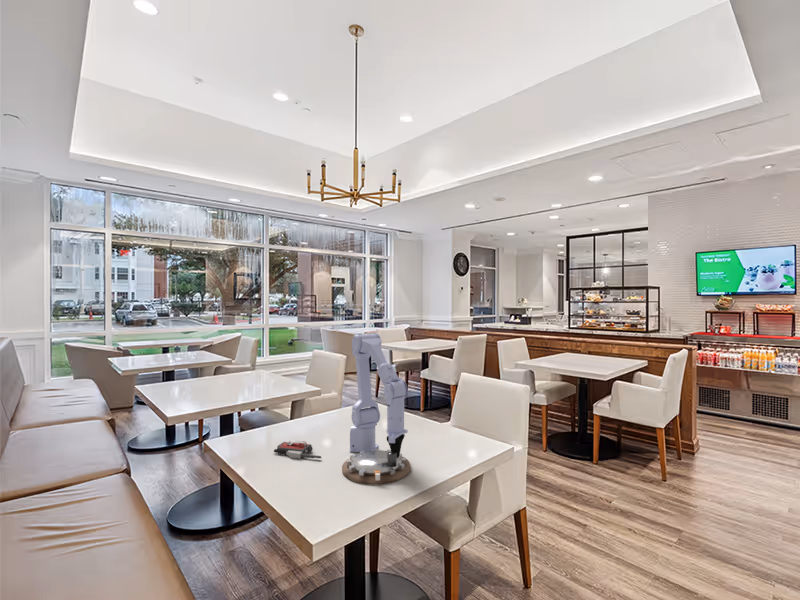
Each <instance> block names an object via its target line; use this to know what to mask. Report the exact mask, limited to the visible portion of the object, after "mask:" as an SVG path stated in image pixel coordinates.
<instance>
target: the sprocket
mask: <svg viewBox="0 0 800 600" xmlns="http://www.w3.org/2000/svg"><path fill="white" fill-rule="evenodd" d="M402 457H403V454H402V453H401V452H400V455H399V458H397V453H396V452H393V451H391V449H386V450H379V448H376V449H374V451H367V452H366V451H364V450H363V451H360V452H359V453H357V454H351V455H349V458H350V460H348V459H346V460H347V466H349V471H350V472H351V473H352V472H355V471H356V472H358V473H359V476H362V477H364V476H365V475H375V473H380V475H385V474H389V475H395V471H397V470H404V464H406V459H407V458H406V457H404V458H402Z"/></svg>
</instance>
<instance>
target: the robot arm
mask: <svg viewBox="0 0 800 600" xmlns="http://www.w3.org/2000/svg"><path fill="white" fill-rule="evenodd" d="M351 349H352V350H351V352H352V357H355V367H356V368H355V369H356V382H357V394H358V395H357V397H358V400H357V401H356V402H355V403H354V404H353V405H352V409H351V422H352V425H351V427H350V431H349V452H351V453H352V452H353V453H360V451H363V450H364V451H366V452H367V451H374V449H378V447H379V444H378V443H376V426H378V423H379V422H380V421H381V420H380V419H381V412H380V409H379V403H378V402H377V401H375V400H374V399H372V398H373V397H372V396H373V395H372V384H371V371H370V358H372V360H373V361H374V362H375V365H376V366H377V375H378V377H379V378H380V380H381V383H382V385H383V394H384V395H383V396H384V398H385V403H386V407H387V408H386V409H387V410H386V411H387V413H386V419H387V421H386V423H387V424H386V428H387V429H386V434H387V436H386V441H387V443H388V445H389V448H390V449H389V450H391V451H393V452H396V453H397V458H399V455H400V453H401V448H402V444H403V440H404V439H405V436H406V435H405V434H408V431H409V430H408V429H406V428H405V397H407V394H408V392H409V391H408V389H409V388H408V384H407V383H406V381H405V380H404V379H402V378H401V377H399V376H398V374H397V372H396V370H395V369H394V367H393V364H391V363H388V361H387V360H386V356H385V355H384V352H383V350H382V339H381V336H380V335H379V333H377V332H375V333H366V334H365V333H362V334H354V335H353V337H352V339H351Z"/></svg>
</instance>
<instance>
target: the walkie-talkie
mask: <svg viewBox="0 0 800 600" xmlns="http://www.w3.org/2000/svg"><path fill="white" fill-rule="evenodd" d="M273 452H274V453H276V454H277V453H278V454H277V455H282V454H286V455H285V456H287V457H288V458H290V459H297V458H298V460H300V459H303V458H307V459H322V456H321V455H316V454H315V455H314V454H309V453H312V452H313V445H312V444H310V443H307V442H306V441H305V440H304V441H302V440H295V441H294V442H292V441H291V440H289V441H283V442H281V443H279V444H278V446H277V448H274V449H273ZM307 453H308V454H307ZM301 457H302V458H301Z"/></svg>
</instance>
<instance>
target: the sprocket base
mask: <svg viewBox="0 0 800 600" xmlns="http://www.w3.org/2000/svg"><path fill="white" fill-rule="evenodd" d="M402 458H405V457H404V456H402ZM347 460H350V457H349V458H348V459H346V460H345V461H344V462H343V463H342V465H341V472H342V475H343V476H344V477H345V478H346V479H347V480H349V481H351V482H353V483H356V484H363V485H371V484H372V486H375V485H374V484H378V485H385V484H386V485H387V484H391V483H395V481H396V482H398V481H400V480H402V479H405V478H406V477H407V476H409V474H410V473H411V471H412V470H411V469H412V468H411V462H410V461H409V459H407V458H406V464H404V470H397V471H395V475H389V474H385V475H380V473H375V475H365V476H364V477H362V476H359V473H358V472H356V471H355V472H352V473H351V472H350V471H349V466H347Z"/></svg>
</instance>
